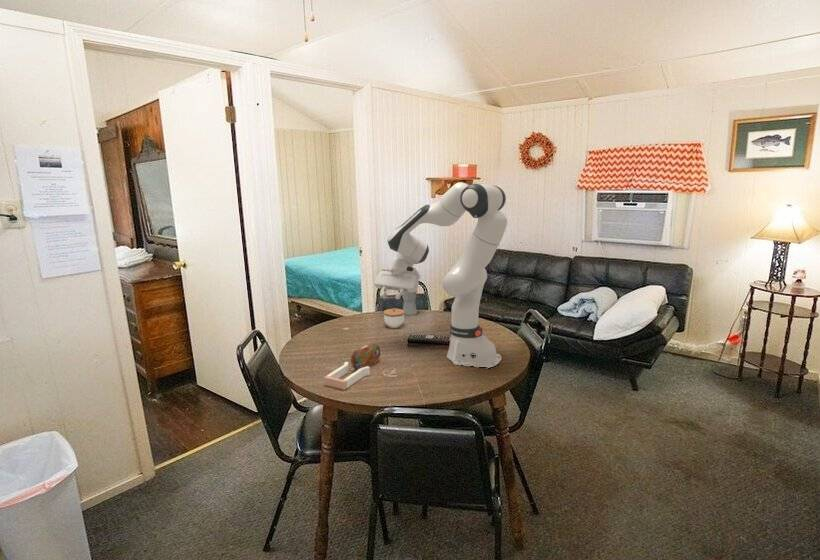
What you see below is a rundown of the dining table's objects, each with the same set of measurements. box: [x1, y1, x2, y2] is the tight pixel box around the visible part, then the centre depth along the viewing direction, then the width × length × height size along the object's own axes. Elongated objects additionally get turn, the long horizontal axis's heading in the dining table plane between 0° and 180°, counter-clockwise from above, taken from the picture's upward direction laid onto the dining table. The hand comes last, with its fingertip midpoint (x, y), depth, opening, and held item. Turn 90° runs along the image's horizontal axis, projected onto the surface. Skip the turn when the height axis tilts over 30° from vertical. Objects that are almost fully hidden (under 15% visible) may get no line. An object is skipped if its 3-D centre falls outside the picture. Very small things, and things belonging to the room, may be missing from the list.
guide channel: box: [323, 361, 371, 391], centre depth 164 cm, size 12×16×3 cm
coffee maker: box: [398, 290, 418, 317], centre depth 244 cm, size 15×9×18 cm, turn 45°
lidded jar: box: [383, 307, 405, 329], centre depth 223 cm, size 11×11×9 cm
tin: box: [350, 343, 381, 371], centre depth 175 cm, size 15×3×8 cm, turn 143°
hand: (390, 297), depth 189 cm, fingers open, 5 cm apart
